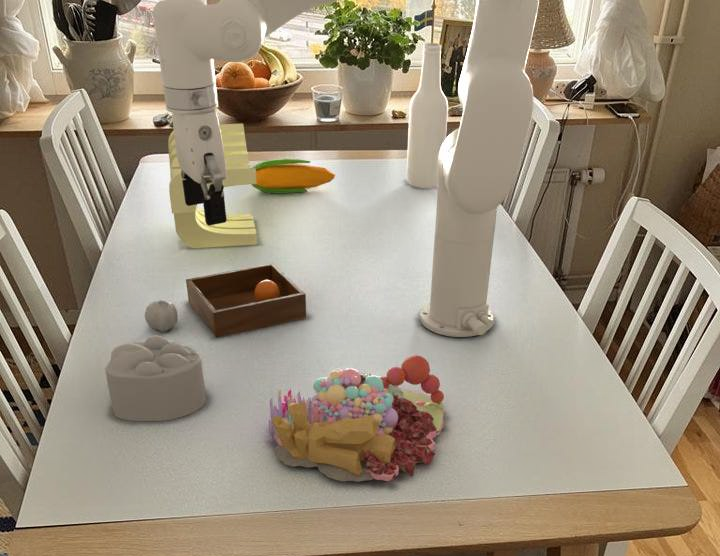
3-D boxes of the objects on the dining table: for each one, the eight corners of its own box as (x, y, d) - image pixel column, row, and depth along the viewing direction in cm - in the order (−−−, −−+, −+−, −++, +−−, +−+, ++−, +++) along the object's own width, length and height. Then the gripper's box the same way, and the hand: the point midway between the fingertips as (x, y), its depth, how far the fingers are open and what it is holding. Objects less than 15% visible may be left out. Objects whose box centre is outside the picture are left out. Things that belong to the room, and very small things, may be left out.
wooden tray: (306, 318, 146) (305, 293, 143) (215, 337, 140) (213, 312, 137) (274, 286, 156) (273, 262, 154) (188, 303, 150) (185, 279, 147)
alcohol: (403, 177, 206) (409, 40, 188) (439, 176, 207) (448, 40, 189) (409, 189, 200) (415, 48, 181) (445, 188, 200) (456, 48, 182)
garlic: (185, 330, 142) (182, 301, 139) (155, 338, 140) (151, 309, 136) (171, 316, 146) (167, 288, 143) (141, 324, 143) (136, 296, 140)
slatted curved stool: (176, 211, 186) (166, 126, 175) (249, 207, 189) (243, 123, 178) (178, 266, 163) (166, 172, 152) (261, 260, 165) (255, 168, 154)
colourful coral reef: (430, 497, 107) (435, 437, 101) (250, 476, 110) (245, 417, 104) (449, 395, 126) (454, 340, 121) (295, 379, 130) (293, 325, 124)
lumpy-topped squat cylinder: (123, 383, 128) (113, 332, 123) (209, 382, 129) (203, 331, 123) (109, 421, 120) (98, 368, 115) (202, 420, 120) (195, 367, 115)
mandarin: (284, 307, 149) (283, 283, 146) (260, 312, 147) (259, 288, 144) (274, 297, 152) (273, 274, 149) (251, 301, 150) (249, 278, 148)
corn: (246, 153, 195) (333, 151, 197) (249, 186, 200) (333, 183, 202) (247, 165, 189) (336, 163, 191) (249, 199, 194) (336, 196, 196)
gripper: (236, 107, 118) (248, 227, 128) (196, 82, 130) (210, 193, 141) (185, 114, 115) (201, 236, 126) (148, 88, 127) (166, 201, 138)
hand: (205, 213), depth 133 cm, fingers open, 9 cm apart
